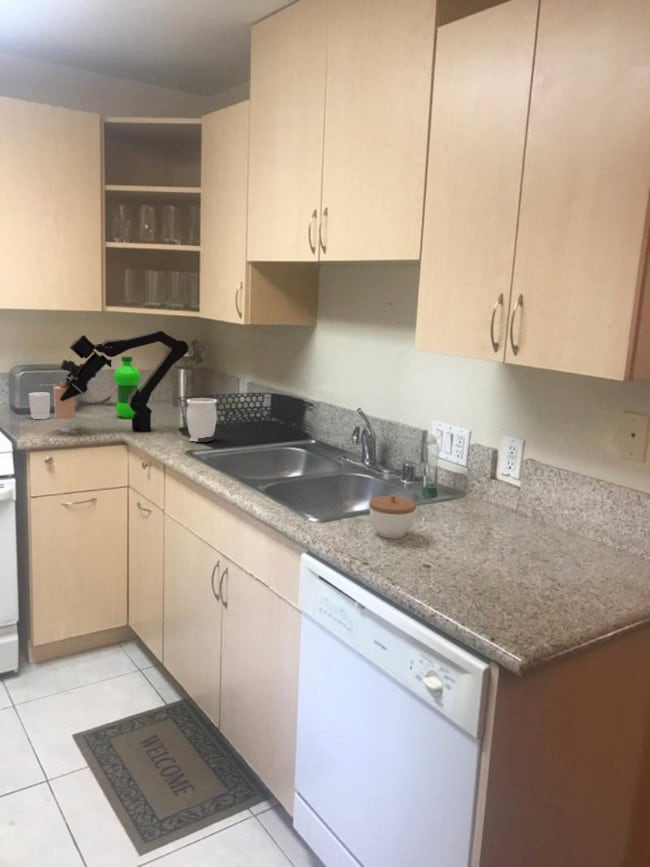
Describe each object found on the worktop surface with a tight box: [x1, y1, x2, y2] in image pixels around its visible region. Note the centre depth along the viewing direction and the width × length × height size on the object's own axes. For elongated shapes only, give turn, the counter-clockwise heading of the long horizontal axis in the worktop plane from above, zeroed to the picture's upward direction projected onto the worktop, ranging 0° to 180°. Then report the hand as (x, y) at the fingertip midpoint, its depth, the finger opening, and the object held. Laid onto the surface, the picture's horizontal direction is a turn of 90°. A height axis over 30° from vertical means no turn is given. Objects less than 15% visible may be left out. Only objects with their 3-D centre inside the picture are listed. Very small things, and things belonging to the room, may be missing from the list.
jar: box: [186, 397, 218, 442], centre depth 251 cm, size 11×10×15 cm
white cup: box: [28, 391, 51, 420], centre depth 281 cm, size 8×8×10 cm
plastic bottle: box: [113, 355, 141, 419], centre depth 288 cm, size 10×10×25 cm
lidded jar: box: [369, 494, 417, 540], centre depth 163 cm, size 11×11×9 cm
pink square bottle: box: [53, 381, 76, 420], centre depth 253 cm, size 6×7×13 cm
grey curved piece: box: [53, 429, 78, 436], centre depth 255 cm, size 8×8×1 cm
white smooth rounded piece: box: [59, 425, 72, 433], centre depth 255 cm, size 3×3×2 cm
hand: (60, 398), depth 252 cm, fingers closed on pink square bottle, 7 cm apart
